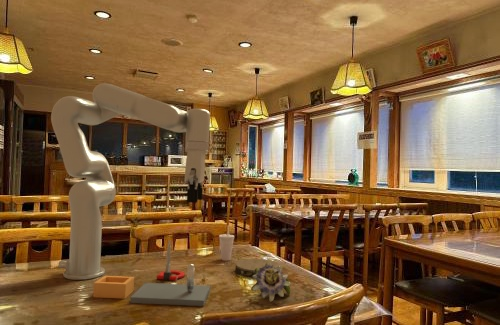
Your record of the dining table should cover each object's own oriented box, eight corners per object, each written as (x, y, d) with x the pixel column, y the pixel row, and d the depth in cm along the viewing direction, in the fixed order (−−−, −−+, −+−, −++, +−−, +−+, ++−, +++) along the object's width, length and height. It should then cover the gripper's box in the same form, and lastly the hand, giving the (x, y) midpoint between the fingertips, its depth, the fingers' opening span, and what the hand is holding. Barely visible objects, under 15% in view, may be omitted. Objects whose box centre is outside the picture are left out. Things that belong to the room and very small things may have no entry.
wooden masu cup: (93, 297, 98) (94, 282, 98) (104, 289, 104) (104, 275, 104) (125, 298, 97) (125, 284, 97) (133, 290, 104) (134, 276, 104)
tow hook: (165, 273, 124) (153, 279, 114) (167, 236, 124) (156, 240, 115) (187, 275, 122) (178, 282, 113) (189, 237, 123) (180, 241, 114)
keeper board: (130, 302, 95) (130, 297, 95) (145, 287, 107) (145, 282, 107) (203, 306, 94) (203, 300, 94) (210, 290, 106) (210, 285, 106)
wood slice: (286, 277, 123) (286, 268, 123) (243, 280, 117) (244, 271, 117) (268, 265, 138) (268, 257, 138) (230, 267, 132) (230, 259, 132)
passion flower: (270, 320, 99) (250, 289, 96) (258, 299, 109) (240, 271, 106) (302, 296, 101) (284, 266, 97) (287, 278, 111) (270, 249, 108)
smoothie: (233, 261, 140) (234, 226, 140) (217, 261, 140) (218, 226, 140) (234, 257, 146) (235, 224, 146) (218, 257, 146) (220, 223, 146)
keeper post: (185, 292, 99) (186, 264, 99) (187, 290, 101) (188, 262, 101) (192, 293, 99) (193, 264, 99) (194, 290, 101) (195, 263, 101)
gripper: (190, 148, 121) (188, 198, 121) (179, 145, 104) (177, 203, 103) (211, 149, 121) (209, 199, 121) (204, 146, 104) (202, 204, 103)
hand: (194, 200), depth 112 cm, fingers open, 9 cm apart
